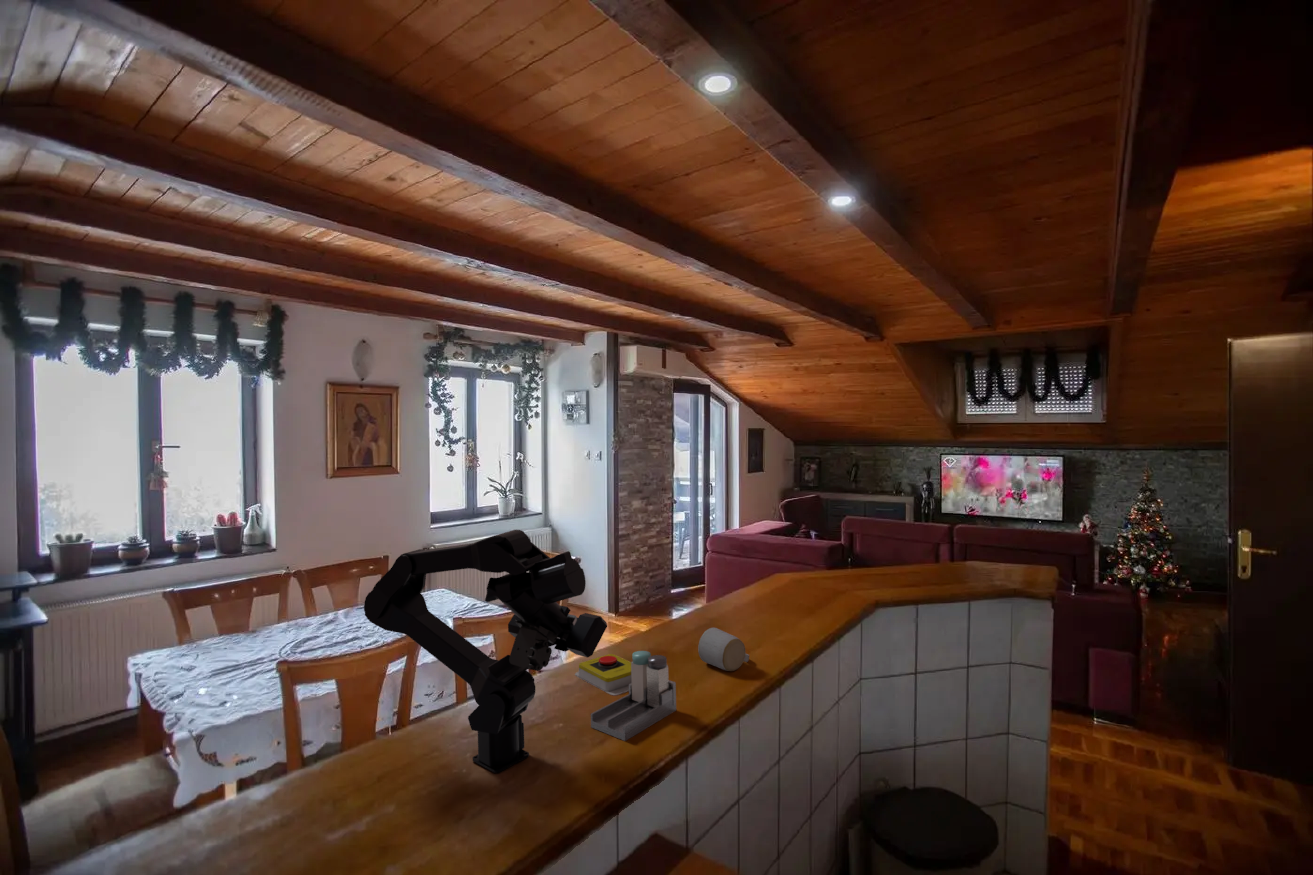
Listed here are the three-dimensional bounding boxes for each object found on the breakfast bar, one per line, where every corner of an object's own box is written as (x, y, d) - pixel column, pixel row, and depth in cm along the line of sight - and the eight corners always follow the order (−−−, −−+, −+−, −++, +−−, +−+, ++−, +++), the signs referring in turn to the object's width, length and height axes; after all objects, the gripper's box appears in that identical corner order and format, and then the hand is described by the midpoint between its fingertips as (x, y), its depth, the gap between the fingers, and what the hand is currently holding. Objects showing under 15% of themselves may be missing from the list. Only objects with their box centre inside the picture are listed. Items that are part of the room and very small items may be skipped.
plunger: (643, 704, 112) (642, 658, 112) (629, 699, 114) (628, 654, 114) (655, 698, 115) (654, 653, 115) (641, 693, 117) (640, 649, 117)
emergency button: (608, 645, 137) (650, 664, 126) (608, 665, 137) (650, 685, 126) (572, 656, 131) (613, 676, 120) (573, 676, 131) (613, 699, 120)
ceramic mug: (724, 677, 128) (724, 640, 128) (697, 666, 134) (697, 630, 134) (758, 664, 135) (758, 629, 135) (731, 654, 141) (730, 621, 141)
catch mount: (625, 741, 102) (623, 681, 102) (591, 727, 107) (589, 670, 107) (676, 710, 113) (674, 656, 113) (643, 699, 118) (641, 647, 118)
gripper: (465, 637, 99) (521, 683, 107) (544, 661, 87) (599, 711, 96) (504, 579, 105) (553, 627, 113) (582, 594, 93) (630, 646, 102)
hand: (581, 652), depth 106 cm, fingers closed
